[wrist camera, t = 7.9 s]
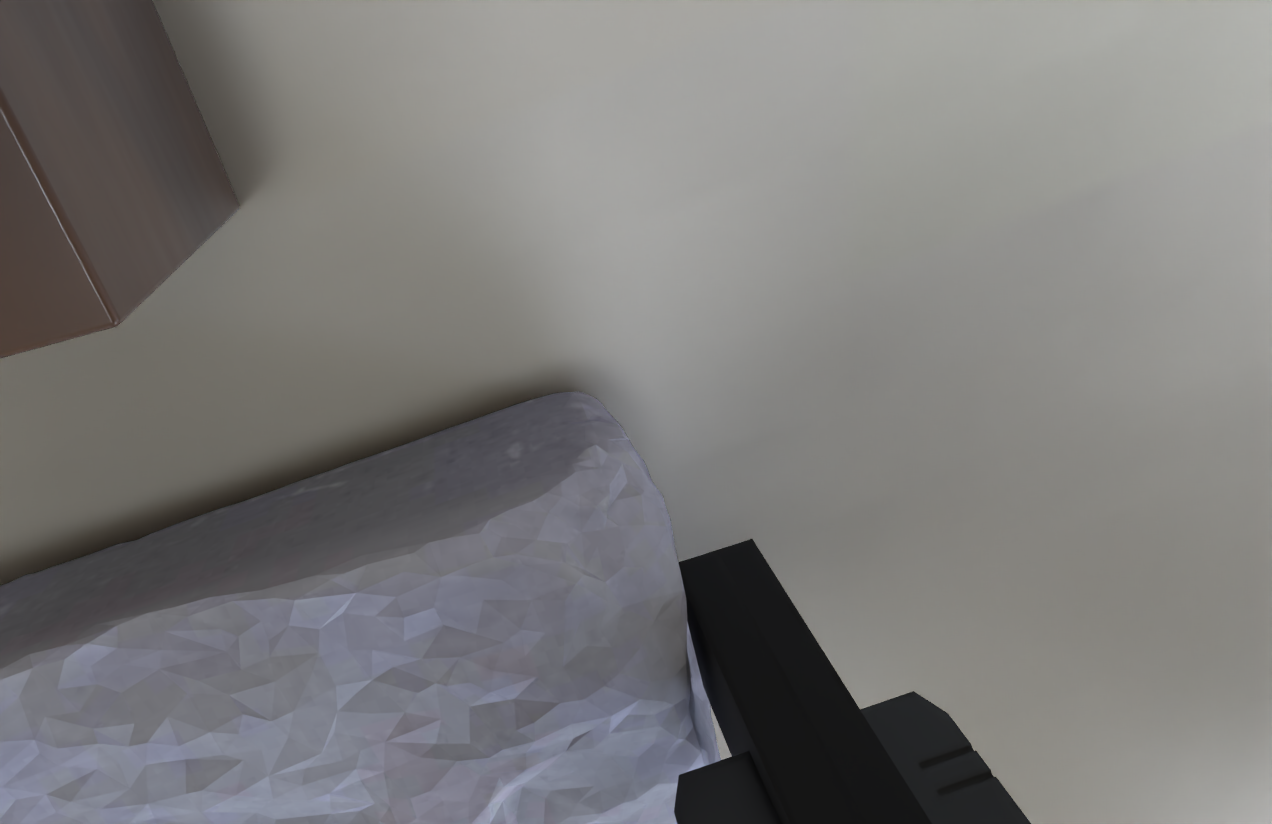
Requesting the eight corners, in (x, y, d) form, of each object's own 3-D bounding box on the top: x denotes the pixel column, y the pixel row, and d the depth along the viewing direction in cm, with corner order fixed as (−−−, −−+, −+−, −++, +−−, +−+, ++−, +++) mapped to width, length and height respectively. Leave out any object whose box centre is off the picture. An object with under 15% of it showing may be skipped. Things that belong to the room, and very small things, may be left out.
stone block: (710, 676, 20) (600, 317, 14) (790, 885, 16) (686, 518, 10) (208, 858, 19) (-143, 568, 13) (168, 1121, 15) (-353, 887, 9)
